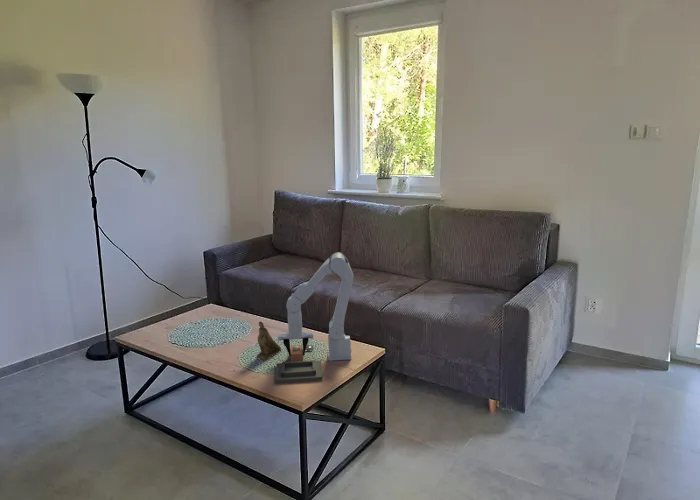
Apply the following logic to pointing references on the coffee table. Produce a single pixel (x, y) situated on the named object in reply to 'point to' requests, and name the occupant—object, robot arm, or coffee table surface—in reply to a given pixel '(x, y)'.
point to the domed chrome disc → (309, 347)
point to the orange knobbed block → (296, 353)
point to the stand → (298, 371)
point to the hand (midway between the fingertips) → (296, 355)
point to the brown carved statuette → (266, 343)
